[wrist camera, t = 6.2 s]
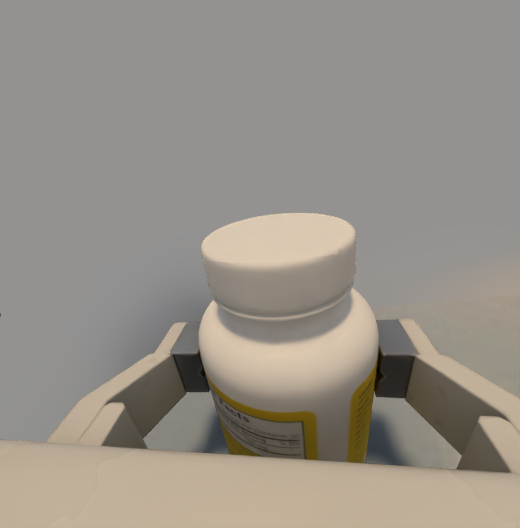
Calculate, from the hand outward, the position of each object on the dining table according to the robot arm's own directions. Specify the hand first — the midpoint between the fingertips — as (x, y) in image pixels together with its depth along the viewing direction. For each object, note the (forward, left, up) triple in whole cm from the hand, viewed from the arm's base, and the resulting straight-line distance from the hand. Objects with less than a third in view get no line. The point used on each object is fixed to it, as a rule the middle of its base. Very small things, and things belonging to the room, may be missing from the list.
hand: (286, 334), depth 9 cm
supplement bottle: (+1, -1, -6) cm, 6 cm away
